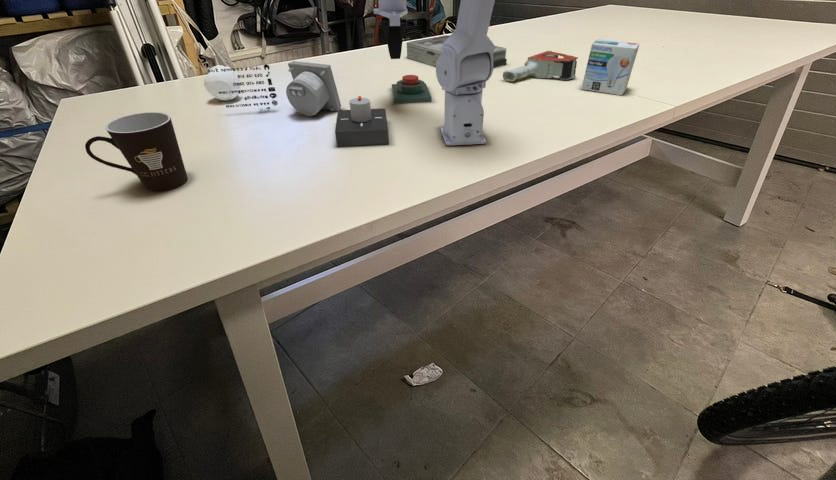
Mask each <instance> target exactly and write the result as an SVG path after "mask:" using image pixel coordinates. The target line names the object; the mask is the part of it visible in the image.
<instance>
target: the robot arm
mask: <svg viewBox="0 0 836 480" xmlns="http://www.w3.org/2000/svg"><path fill="white" fill-rule="evenodd" d="M377 1H378V8H373V10H372V11H373V14H374V15H379V16H382V17H385V18H388V19H386V20H385V19H384V20H383V19H382V20H380V21H379V24H380V28H381V29H382V32H383V34H384V36H385V40H386V45H387V49H388V55H389V57H390V60H400V59H401V56H402V50H403V49H402V48H403V40H404V35H405V32H406V29H407V27H408V22H407V19H406V18H402V17H404V16H406V15H408V13H409V11H408V8H407V0H377ZM495 1H496V0H460V4H459V9H458V13H457V14H458V15H457V21H456V26H455V29H454V31H453V32H451V34H450V36H449V37H448V38H447V39H446V41H445V42H444V43H443V48H442V52H441V55H440V56H439V58H438V60H437V63H436V67H435V76H436V79H437V83H438V84H439V86H440V87H441V90H442V91H444V113H443V114H444V115H443V117H444V118H443V125H440V126H439V130H440V132H441V136H442V138H443V140H444V143H445V145H446V146H465V145H484V144H487V139H486V138H485V136H484V134H483V128H484V117H485V111H484V110H485V109H484V106H483V105H482V103H483V90H484V89H485V88H486V86H487V85H486V84H487V82H488V81H489V80H490V79H491V78H492V75H493V73H494V68H493V53H494V49H495V46H496V45H495V43H494V42H493V41H492V40H491V38H490V37H489V36H488V31H489V28H490V23H491V18H492V15H493V10H494V6H495Z"/></svg>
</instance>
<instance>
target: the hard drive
mask: <svg viewBox="0 0 836 480" xmlns="http://www.w3.org/2000/svg"><path fill="white" fill-rule="evenodd" d="M450 35H451V34H450ZM450 35H449V34H447V35H440V36H435V37H428V38H422V39H416V40H412V41H407V42H406V58H407V59H409V60H412V61H416V62H419V63H422V64H426V65H429V66H432V67H435V68H436V63H437V60H438V58H439V56H440V55H441V52H442V48H443V43H444V42H445V41H446V39H447V38H448V37H449V36H450ZM494 46H495V49H494V53H493V69H495V68H499V67H503V66H506V65H507V61H508V59H507V58H506V56H507V48H506V47H502V46H498V45H494Z"/></svg>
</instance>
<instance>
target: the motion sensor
mask: <svg viewBox="0 0 836 480" xmlns="http://www.w3.org/2000/svg"><path fill="white" fill-rule="evenodd" d="M215 68H217V69H218V70H217V71H218V72H217V71H216V69H215ZM214 69H215V72H214ZM221 69H223V71H224V69H230V70H229V71H228V70H225V71H226V72H223V71H222V70H221ZM231 69H232V67H230V66H228V65H226V66H224V65H223V64H219V65H218V64H217V65H214V66H212V67H210V68H209V69H208V70H210V73H209V72H207V74H206V76H205V78H204V81H203V83H204V84H203V85H204V88H205V90H206V91H207V92H208V94H209V95H210V96H211V97H213V98H214V99H217V100H219V101H231V100H233V99H235V98H236V97H237V96H238V95H239V94H240V93H239V92H238V93H236V92H237V91H239V90H240V91H241V84H240V85H239V86H237V83H240V78H238V75H239V74H237V72H236V71H233V70H232V71H231ZM211 70H213V71H212V72H211ZM221 71H222V72H221ZM236 82H237V83H236ZM233 83H236V86H234V85H235V84H234V85H233ZM225 91H227V94H226V92H225ZM230 91H231V93H230ZM232 91H233V92H234V91H236V92H234V93H232ZM218 92H223V93H224V92H225V94H223V93H221V94H220V93H218ZM229 93H230V94H229Z"/></svg>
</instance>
